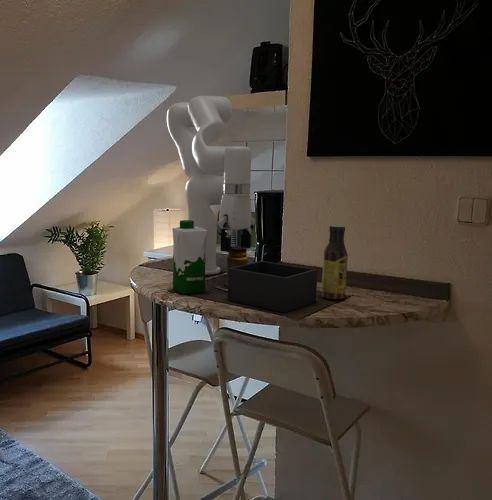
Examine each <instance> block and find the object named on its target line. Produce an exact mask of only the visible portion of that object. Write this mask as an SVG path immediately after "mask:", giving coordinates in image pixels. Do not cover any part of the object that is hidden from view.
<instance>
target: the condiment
mask: <svg viewBox="0 0 492 500" xmlns="http://www.w3.org/2000/svg"><path fill="white" fill-rule="evenodd" d="M247 252H248V248H245V247H241V246H231V251H230V252H227V254H228V255H227V257H226V274H225V275H226V276H225V277H226V279H225V280H226V281H225V284H222V285H215V288H217V289H219V290H223V291H227V292H228V268H232V267H236V266H241V265H245V264H249V258H248V256H247V255H248V253H247Z"/></svg>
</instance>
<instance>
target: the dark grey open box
mask: <svg viewBox="0 0 492 500" xmlns="http://www.w3.org/2000/svg"><path fill="white" fill-rule="evenodd" d="M318 270H319V269H316V268H310V267H304V266H298V265H292V264H291V265H290V264H284V263H279V262H271V261H266V260H265V261H264V260H258V261H254V262H249V263H248V264H245V265H241V266H236V267H232V268H228V291H227V301H229V302H234V303H238V304H243V305H248V306H252V307H255V308H256V307H257V308H261V309H265V310H270V311H274V312H279V313H284V314H286V313H289V312H291V311H294V310H296V309H300V308H302V307H305V306H307V305H311V304H313V303H316V302H317V291H318V290H317V289H318V272H319V271H318Z"/></svg>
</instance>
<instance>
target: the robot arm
mask: <svg viewBox="0 0 492 500" xmlns="http://www.w3.org/2000/svg"><path fill="white" fill-rule="evenodd" d="M233 112H234V111H233V104H232V103H231V101H230V99H229V98H228V97H226V96H224V95H223V96H221V95H197V96H195V97H193V98H191V99H190V100H189V101H182V102H181V101H180V102H176V103H174V104H171V105H170V106H169V108H167V113H166V124H167V128H168V132H169V135H170V137H171V138H172V140H173V142H174V144H175V146H176V148H177V151H178V154H179V158H180V161H181V165H182V169H183V171H184V174H185V176H186V177H187V178H188V180H187V182H186V184H185V188H184V189H185V191H184V192H185V198H186V205H187V220H192V221H194V227H198V228H203V229H205V230H208V234H207V240H206V261H205V276H210V275H217V274H220V273H221V271H222V270H221V267H220V266H218V265H217V242H218V241H217V237H218V236H219V238H220V252H224V253H228V252H230V251H231V247H232V238H231V235H232V233H233V231H235V232H236V231H241V233H240V247H245V248H246V249H251V248H252V247H251V246H252V235H253V230H254V228H255V222H256V218H255V217H254V216H252V214H253V213H252V200H251V181H252V180H251V175H252V174H251V173H252V172H251V171H252V150H251V148H250V147H249V146H245V145H233V146H226V145H223V146H221V145H210V146H209V144H212V143H214V142H216V141H218V140H219V139H220V138H221V137H222V136H223V135H224V133H225V130H226V129H225V124H227V123H228V122H229V121H231V119H232V116H233ZM192 128H194V129H195V130H196V132H195V131H194V130H192ZM189 178H190V179H189ZM211 206H219V218H217V215H216V213H215V212H214V211H213V210H212V208H211ZM217 219H218V220H217Z"/></svg>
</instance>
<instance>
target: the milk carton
mask: <svg viewBox="0 0 492 500" xmlns="http://www.w3.org/2000/svg"><path fill="white" fill-rule="evenodd" d="M207 234H208V230H205V229H203V228H198V227H194V221H192V220H188V219H184V220H183V219H182V220H181V219H180V220H179V227H178V226H177V227H172V241H173V242H172V244H173V245H172V248H173V249H172V257H173V258H172V290H174V291H176V292H178V293H180V294H181V295H194V294H203V293H206V275H205V261H206V240H207Z"/></svg>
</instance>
